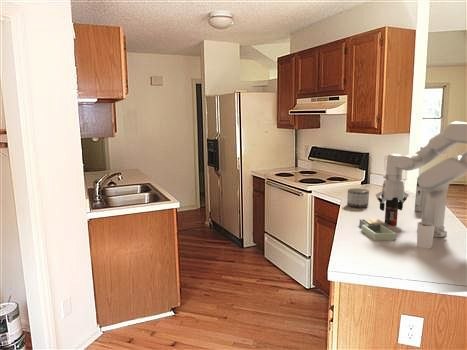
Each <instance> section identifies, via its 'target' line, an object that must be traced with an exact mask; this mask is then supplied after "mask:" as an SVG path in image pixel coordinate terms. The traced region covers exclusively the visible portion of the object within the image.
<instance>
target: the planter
mask: <svg viewBox="0 0 467 350" xmlns="http://www.w3.org/2000/svg"><path fill="white" fill-rule="evenodd" d="M369 197H370V190H369V189H366V188H359V187H353V188H348V189H347V202H346V203H347V204H346V205H348V206H349V207H352V208H357V209H358V208H359V209H362V208H366V207H368V206H369V199H370V198H369Z"/></svg>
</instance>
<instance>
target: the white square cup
mask: <svg viewBox="0 0 467 350" xmlns="http://www.w3.org/2000/svg"><path fill="white" fill-rule="evenodd" d="M416 228H417V229H416V232H417V233H416V234H417V235H416V246H417V247H419V248H421V249H427V248H428V249H432V247H433V243H434V242H433V241H434V237H433V235H434V228H435V225H434V224H433V223H429V222H421V221H418V222H417V227H416Z"/></svg>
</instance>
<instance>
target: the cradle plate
mask: <svg viewBox="0 0 467 350" xmlns="http://www.w3.org/2000/svg"><path fill="white" fill-rule="evenodd" d="M378 219H379V218H364V219H362V220H363V221H365V222H366V223H368V224H369V225H376V224H384V223H385V222H384V221H382V220H381V219H379V220H378ZM380 220H381V221H382V222H381V221H380ZM383 222H384V223H383Z"/></svg>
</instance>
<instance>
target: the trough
mask: <svg viewBox="0 0 467 350" xmlns="http://www.w3.org/2000/svg"><path fill="white" fill-rule="evenodd" d="M376 225H380V226H379V227H380V231H379V233H377V232H376V231H372V230H376V229H369V228H370V227H371V228H372V227H373V226H369V228H368V225H362V227H361V232H363V233H364V234H365V235H366V236H368V237H369V238H371V239H373V240H374V241H392V240H393V241H395V240H397V233H396V232H394V230H391V229H389V227H388V228H386V227H385V226H383V225H381V224H376ZM373 228H374V227H373ZM377 230H379V229H378V228H377Z"/></svg>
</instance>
